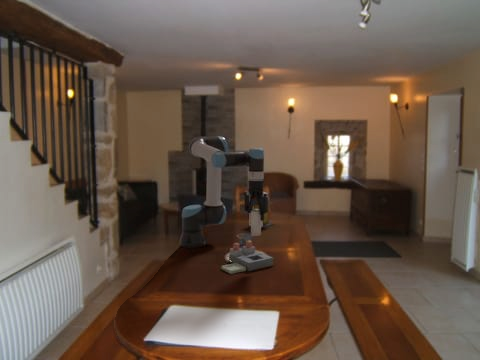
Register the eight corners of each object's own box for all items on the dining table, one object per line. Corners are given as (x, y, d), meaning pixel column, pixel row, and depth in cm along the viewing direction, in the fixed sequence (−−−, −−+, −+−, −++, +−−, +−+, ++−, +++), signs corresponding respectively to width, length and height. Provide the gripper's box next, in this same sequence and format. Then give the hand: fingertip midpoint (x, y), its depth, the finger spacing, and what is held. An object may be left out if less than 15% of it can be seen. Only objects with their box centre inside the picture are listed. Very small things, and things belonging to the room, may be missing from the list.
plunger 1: (232, 251, 214) (232, 243, 214) (237, 250, 216) (237, 242, 215) (235, 253, 212) (235, 244, 211) (240, 252, 213) (240, 243, 213)
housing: (229, 261, 215) (229, 248, 215) (252, 256, 224) (252, 243, 223) (248, 270, 201) (248, 256, 200) (273, 265, 209) (273, 251, 208)
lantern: (274, 224, 300) (274, 183, 297) (265, 228, 289) (265, 185, 285) (257, 222, 308) (257, 182, 304) (247, 225, 296) (247, 184, 293)
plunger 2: (244, 249, 219) (244, 241, 218) (249, 248, 220) (249, 240, 220) (248, 250, 216) (248, 242, 216) (252, 249, 218) (252, 241, 217)
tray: (221, 269, 203) (221, 265, 203) (236, 265, 208) (236, 262, 208) (230, 274, 196) (230, 270, 196) (245, 270, 201) (245, 267, 201)
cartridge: (254, 232, 210) (254, 208, 209) (262, 234, 207) (262, 209, 206) (248, 234, 206) (249, 209, 205) (257, 236, 203) (257, 211, 202)
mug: (251, 257, 222) (251, 238, 221) (234, 256, 224) (234, 237, 223) (256, 251, 234) (256, 232, 233) (240, 250, 236) (240, 231, 235)
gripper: (236, 179, 206) (236, 225, 208) (267, 181, 195) (267, 230, 198) (245, 177, 212) (245, 222, 214) (275, 180, 201) (275, 227, 204)
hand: (255, 225), depth 206 cm, fingers closed on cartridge, 5 cm apart
